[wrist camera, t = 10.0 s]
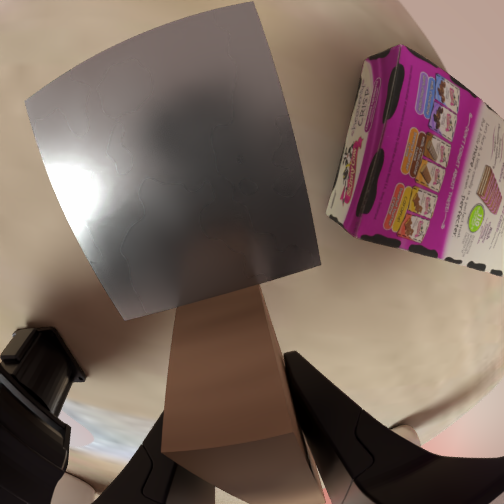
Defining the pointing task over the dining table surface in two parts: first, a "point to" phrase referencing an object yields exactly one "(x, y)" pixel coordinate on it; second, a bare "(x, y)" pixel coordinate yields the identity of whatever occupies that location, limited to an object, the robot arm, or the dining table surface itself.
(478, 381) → the dining table surface
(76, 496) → the cylinder vase
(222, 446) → the turner
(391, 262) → the dining table surface
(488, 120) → the candy bar box
